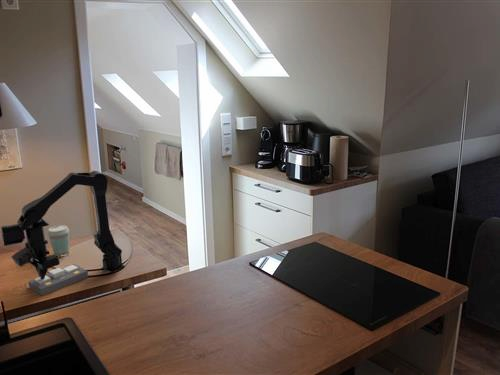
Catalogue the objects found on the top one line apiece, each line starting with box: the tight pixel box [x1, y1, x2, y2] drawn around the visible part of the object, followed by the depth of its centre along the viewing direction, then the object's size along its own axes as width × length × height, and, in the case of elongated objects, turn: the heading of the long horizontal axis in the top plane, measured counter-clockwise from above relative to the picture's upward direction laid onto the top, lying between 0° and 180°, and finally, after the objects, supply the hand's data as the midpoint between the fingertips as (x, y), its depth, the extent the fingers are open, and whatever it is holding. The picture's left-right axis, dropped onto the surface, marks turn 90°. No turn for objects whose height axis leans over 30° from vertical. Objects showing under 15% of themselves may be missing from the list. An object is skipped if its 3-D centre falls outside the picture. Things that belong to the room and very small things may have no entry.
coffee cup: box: [47, 224, 70, 257], centre depth 188 cm, size 8×8×12 cm
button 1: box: [34, 276, 51, 285], centre depth 161 cm, size 4×4×2 cm
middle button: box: [48, 267, 65, 279], centre depth 164 cm, size 4×4×2 cm
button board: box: [28, 263, 89, 296], centre depth 164 cm, size 18×10×3 cm, turn 140°
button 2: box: [62, 264, 78, 274], centre depth 169 cm, size 4×4×2 cm
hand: (42, 278), depth 160 cm, fingers closed, pressing on button 1
